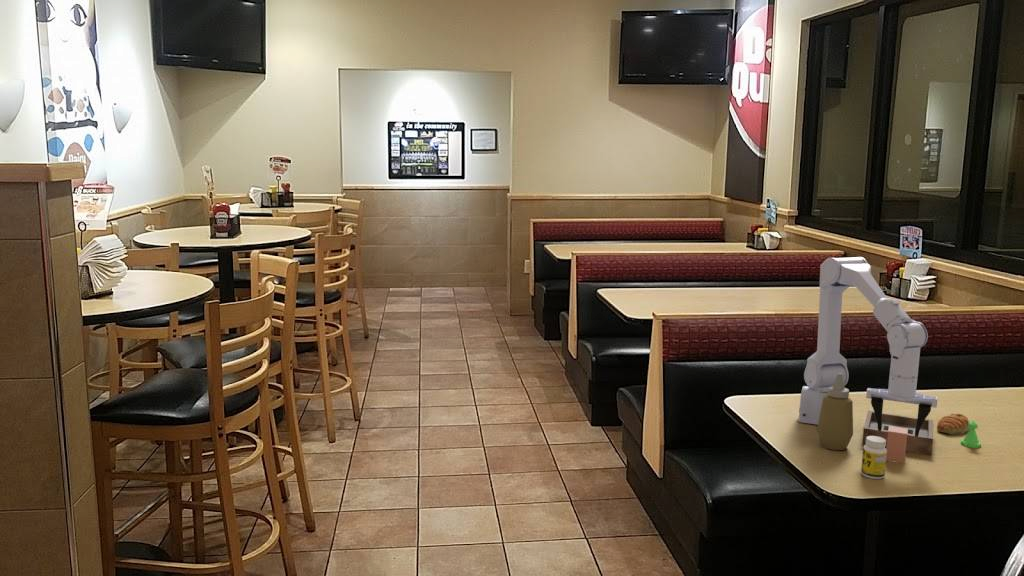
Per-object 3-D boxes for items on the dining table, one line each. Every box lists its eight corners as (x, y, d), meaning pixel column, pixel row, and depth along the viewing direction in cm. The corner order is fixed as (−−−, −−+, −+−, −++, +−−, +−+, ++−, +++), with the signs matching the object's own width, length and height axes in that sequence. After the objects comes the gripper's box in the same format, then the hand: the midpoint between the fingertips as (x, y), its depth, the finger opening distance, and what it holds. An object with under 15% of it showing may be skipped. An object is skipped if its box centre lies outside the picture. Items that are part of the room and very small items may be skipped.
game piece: (982, 448, 196) (985, 425, 195) (962, 446, 197) (965, 422, 196) (978, 442, 200) (981, 419, 199) (959, 440, 201) (961, 417, 200)
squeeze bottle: (850, 442, 198) (857, 371, 195) (852, 454, 191) (859, 380, 188) (815, 438, 201) (821, 368, 198) (816, 450, 193) (822, 376, 190)
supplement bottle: (856, 471, 181) (860, 435, 180) (877, 470, 182) (880, 434, 180) (867, 479, 176) (871, 442, 175) (888, 479, 177) (892, 442, 175)
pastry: (957, 438, 203) (958, 424, 202) (929, 431, 208) (930, 417, 207) (972, 430, 209) (974, 416, 208) (945, 423, 214) (946, 409, 213)
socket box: (862, 443, 198) (863, 428, 197) (866, 425, 211) (868, 410, 210) (931, 455, 191) (933, 438, 190) (931, 435, 204) (933, 420, 204)
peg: (885, 460, 188) (888, 431, 187) (886, 454, 191) (888, 425, 190) (904, 463, 186) (907, 434, 185) (904, 457, 190) (907, 428, 188)
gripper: (867, 374, 185) (862, 432, 187) (939, 383, 178) (933, 443, 181) (869, 367, 191) (864, 423, 193) (939, 376, 185) (933, 433, 187)
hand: (897, 432), depth 188 cm, fingers open, 7 cm apart
